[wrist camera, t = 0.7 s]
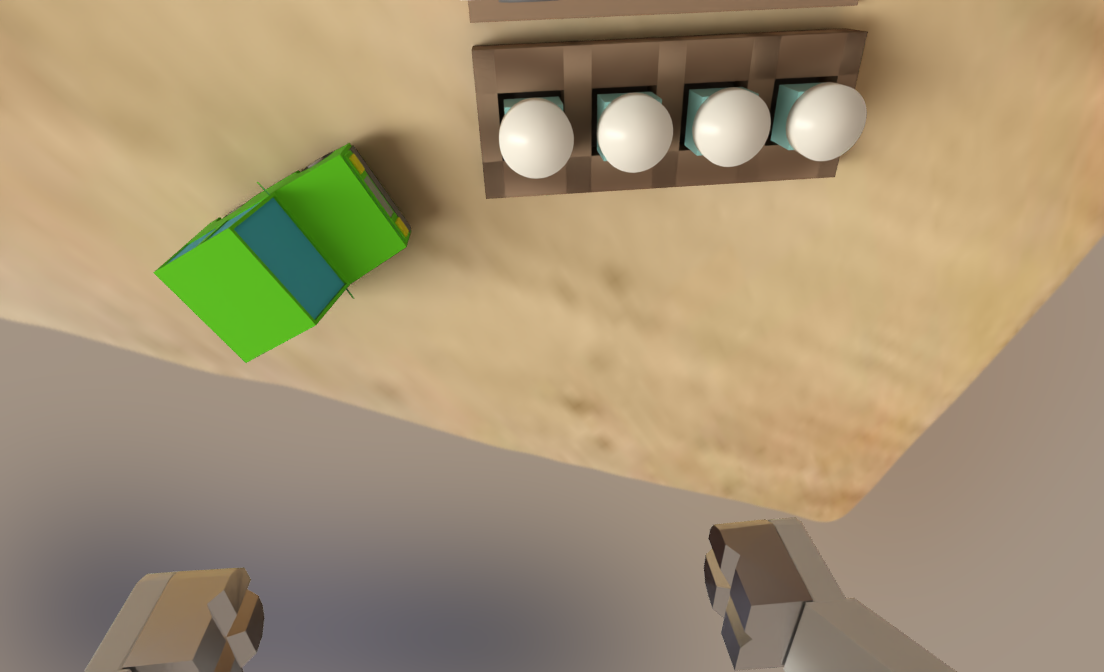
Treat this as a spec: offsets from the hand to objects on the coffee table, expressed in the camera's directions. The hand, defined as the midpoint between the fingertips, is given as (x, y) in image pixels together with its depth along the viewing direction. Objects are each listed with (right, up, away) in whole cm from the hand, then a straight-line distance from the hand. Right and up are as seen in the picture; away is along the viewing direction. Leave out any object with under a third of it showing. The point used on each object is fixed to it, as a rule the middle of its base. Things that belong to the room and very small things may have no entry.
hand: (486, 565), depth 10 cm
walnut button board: (+9, +21, +34) cm, 41 cm away
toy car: (-17, +13, +36) cm, 42 cm away
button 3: (+13, +20, +31) cm, 39 cm away
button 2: (+6, +19, +31) cm, 37 cm away
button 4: (+19, +20, +32) cm, 42 cm away
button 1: (0, +19, +31) cm, 36 cm away
